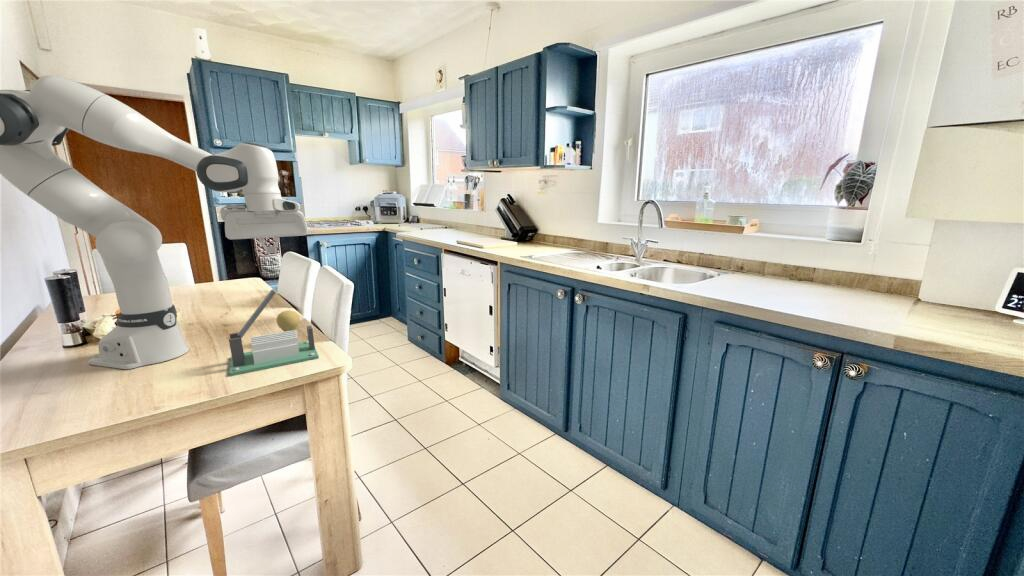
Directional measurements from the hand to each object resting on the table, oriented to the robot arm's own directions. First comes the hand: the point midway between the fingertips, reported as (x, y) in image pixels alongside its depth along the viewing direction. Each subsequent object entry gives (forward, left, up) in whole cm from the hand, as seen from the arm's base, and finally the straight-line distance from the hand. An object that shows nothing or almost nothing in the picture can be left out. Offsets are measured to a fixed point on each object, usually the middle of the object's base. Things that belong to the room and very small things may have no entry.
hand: (271, 253), depth 116 cm
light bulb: (-1, +5, -29) cm, 30 cm away
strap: (0, -10, -16) cm, 19 cm away
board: (+2, -8, -29) cm, 30 cm away
